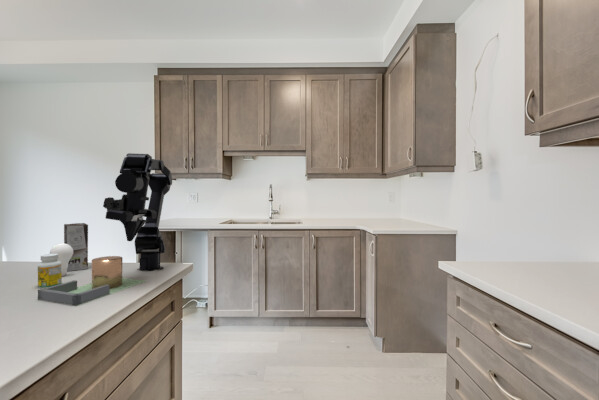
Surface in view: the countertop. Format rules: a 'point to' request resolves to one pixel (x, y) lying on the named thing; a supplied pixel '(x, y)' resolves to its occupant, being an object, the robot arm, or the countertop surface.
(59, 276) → the supplement bottle
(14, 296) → the countertop surface
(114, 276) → the copper metal cylinder
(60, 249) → the lightbulb
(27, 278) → the countertop surface
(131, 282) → the green
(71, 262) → the coffee box
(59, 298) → the shallow gray tray
